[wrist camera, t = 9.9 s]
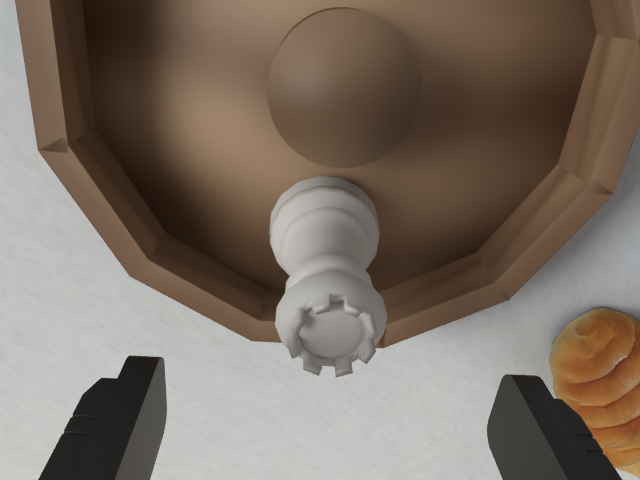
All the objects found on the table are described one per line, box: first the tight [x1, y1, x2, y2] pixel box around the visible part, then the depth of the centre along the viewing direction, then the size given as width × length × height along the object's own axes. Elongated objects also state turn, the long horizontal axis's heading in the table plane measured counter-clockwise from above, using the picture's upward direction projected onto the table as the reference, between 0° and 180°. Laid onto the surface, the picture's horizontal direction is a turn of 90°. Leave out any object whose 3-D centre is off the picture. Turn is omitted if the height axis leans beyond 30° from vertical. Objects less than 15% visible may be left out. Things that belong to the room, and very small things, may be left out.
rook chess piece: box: [269, 176, 387, 377], centre depth 18 cm, size 4×4×8 cm
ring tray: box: [15, 0, 640, 348], centre depth 18 cm, size 21×21×4 cm
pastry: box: [549, 307, 640, 478], centre depth 25 cm, size 9×7×4 cm
